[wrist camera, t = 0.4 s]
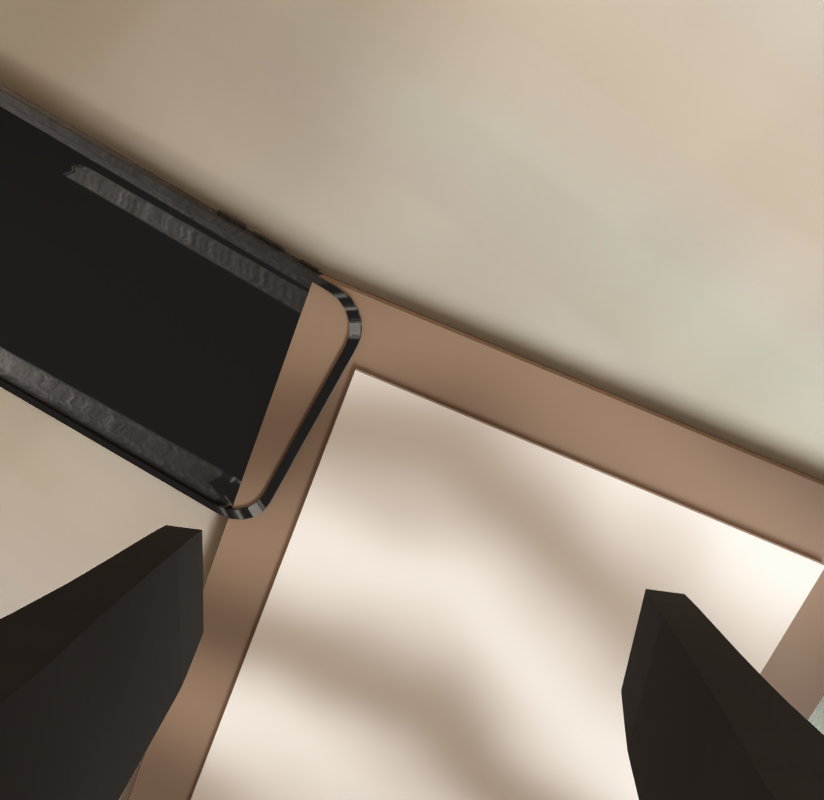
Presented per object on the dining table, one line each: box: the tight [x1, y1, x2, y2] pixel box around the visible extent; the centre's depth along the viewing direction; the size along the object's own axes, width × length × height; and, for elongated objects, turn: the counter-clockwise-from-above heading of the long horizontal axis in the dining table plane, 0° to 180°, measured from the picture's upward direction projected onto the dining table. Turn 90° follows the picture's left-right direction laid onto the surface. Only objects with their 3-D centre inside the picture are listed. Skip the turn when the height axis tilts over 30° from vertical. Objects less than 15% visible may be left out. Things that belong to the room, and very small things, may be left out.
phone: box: [0, 84, 362, 520], centre depth 23 cm, size 8×1×15 cm
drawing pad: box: [129, 275, 824, 800], centre depth 24 cm, size 24×18×1 cm
